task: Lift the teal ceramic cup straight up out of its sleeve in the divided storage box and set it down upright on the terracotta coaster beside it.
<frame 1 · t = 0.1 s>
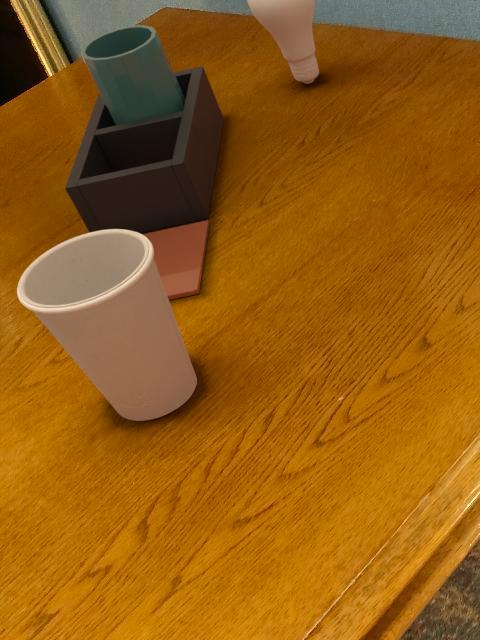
divided storage box: (164, 176, 88), on the table
cup: (169, 153, 91), resting in divided storage box
coaster: (142, 270, 78), on the table
lightbulb: (310, 84, 97), on the table
dixie cup: (157, 394, 68), on the table
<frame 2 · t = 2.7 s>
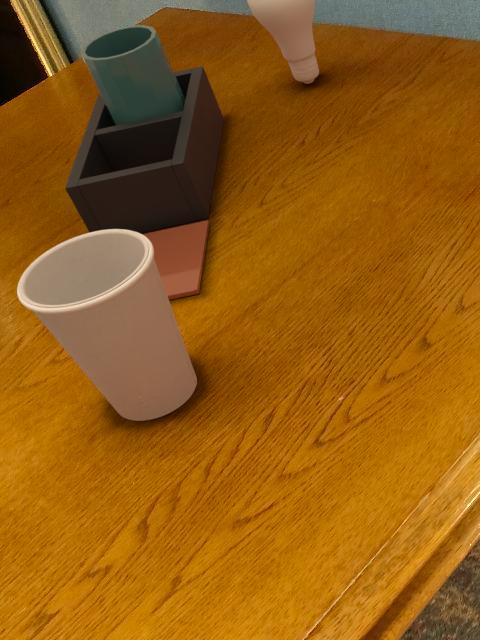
nothing on the table moved.
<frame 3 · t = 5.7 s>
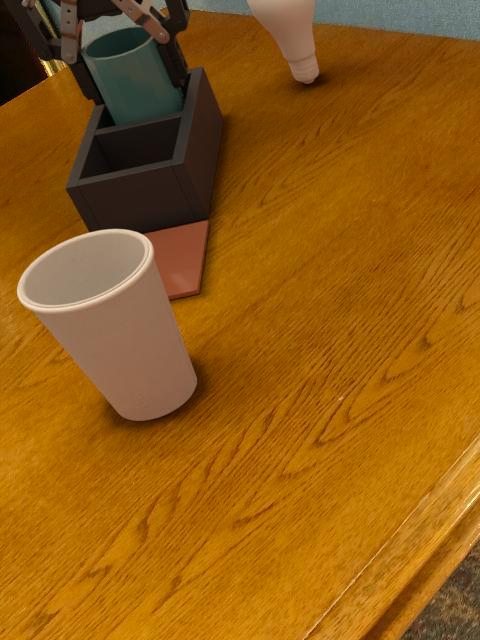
hand: (140, 92, 87), 6 cm above the table, tool pointing down, fingers closed on cup, 6 cm apart
cup: (169, 153, 91), resting in divided storage box, touching gripper
everything else where it was.
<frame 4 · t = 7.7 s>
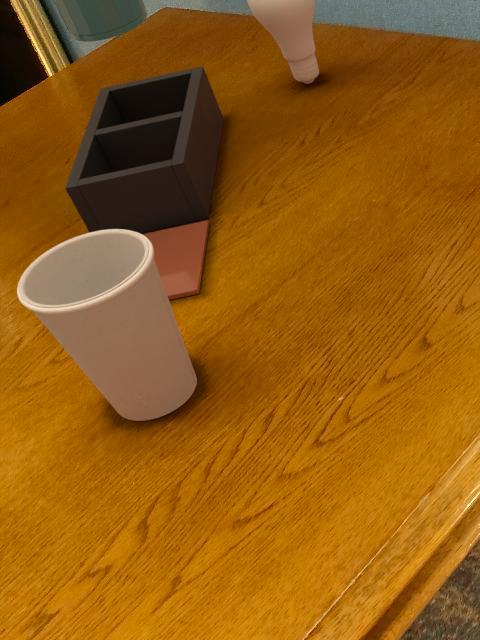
cup: (109, 24, 83), point 11 cm above the table, touching gripper
everything else where it was.
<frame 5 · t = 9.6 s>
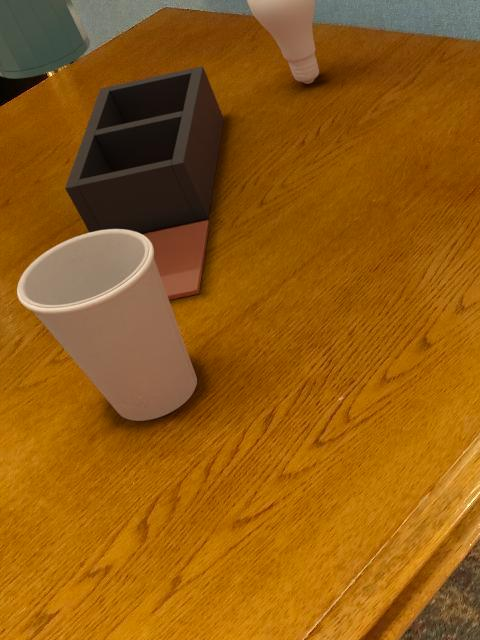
cup: (43, 56, 68), point 16 cm above the table, touching gripper
everything else where it was.
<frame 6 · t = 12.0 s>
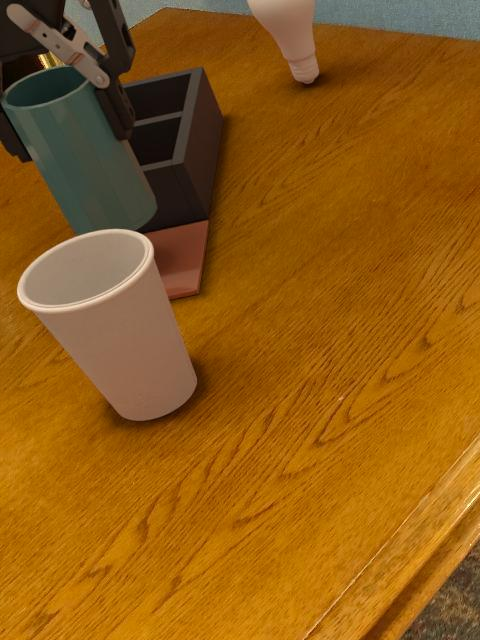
hand: (77, 145, 71), 10 cm above the table, tool pointing down, fingers closed on cup, 6 cm apart
cup: (116, 217, 75), point 5 cm above the table, touching gripper
everything else where it was.
when the fingers open (6 cm above the table, at t = 13.7 s): cup stays where it is, resting on coaster.
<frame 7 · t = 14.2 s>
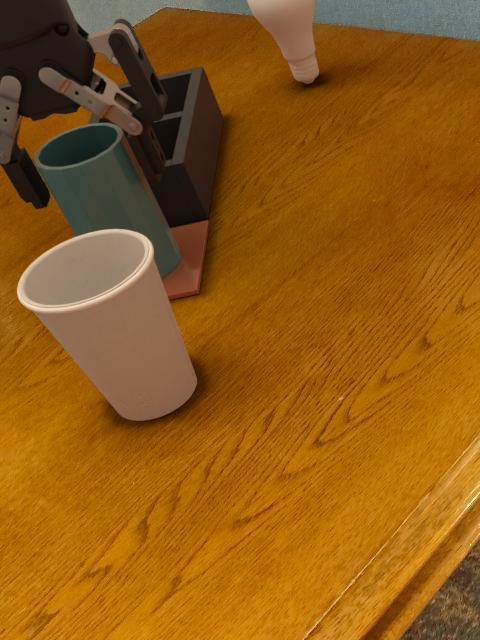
hand: (100, 190, 73), 7 cm above the table, tool pointing down, fingers open, 8 cm apart
cup: (141, 266, 78), resting on coaster
everything else where it was.
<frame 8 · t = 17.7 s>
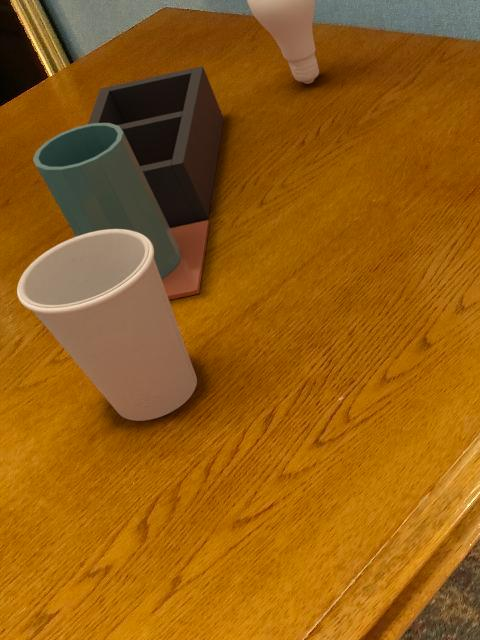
nothing on the table moved.
at the end: cup 0.1 cm off-centre on the coaster, point 0.4 cm above the coaster's base; cup tilted 0°; the gripper is holding nothing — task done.
